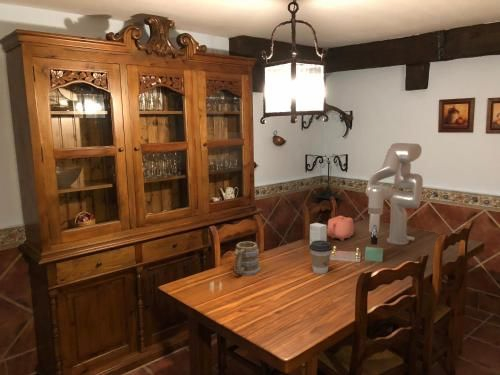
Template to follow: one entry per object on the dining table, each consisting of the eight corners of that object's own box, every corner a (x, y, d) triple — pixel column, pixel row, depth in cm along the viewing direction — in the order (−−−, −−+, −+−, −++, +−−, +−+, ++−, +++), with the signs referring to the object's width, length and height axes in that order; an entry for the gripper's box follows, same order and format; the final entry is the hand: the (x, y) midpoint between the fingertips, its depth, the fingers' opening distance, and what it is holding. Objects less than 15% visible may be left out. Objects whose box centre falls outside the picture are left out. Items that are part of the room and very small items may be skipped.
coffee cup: (323, 277, 205) (324, 248, 202) (304, 272, 212) (304, 243, 209) (336, 270, 213) (336, 242, 210) (317, 265, 220) (317, 238, 218)
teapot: (341, 231, 279) (342, 211, 276) (358, 235, 270) (359, 214, 267) (322, 239, 263) (322, 217, 261) (339, 243, 255) (340, 221, 252)
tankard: (241, 264, 224) (241, 237, 221) (263, 268, 218) (263, 240, 216) (223, 278, 206) (222, 249, 203) (246, 282, 201) (245, 252, 198)
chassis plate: (360, 254, 236) (360, 247, 235) (360, 262, 224) (360, 254, 224) (331, 252, 240) (331, 245, 239) (329, 259, 229) (329, 252, 228)
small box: (326, 246, 251) (327, 225, 248) (319, 248, 247) (319, 227, 244) (316, 242, 257) (316, 222, 255) (309, 245, 253) (309, 224, 251)
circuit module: (382, 258, 229) (382, 248, 228) (382, 261, 224) (382, 251, 223) (365, 257, 232) (365, 246, 231) (364, 260, 227) (365, 249, 226)
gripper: (368, 206, 232) (366, 236, 235) (368, 213, 216) (366, 245, 218) (382, 207, 230) (380, 237, 233) (383, 214, 214) (381, 247, 216)
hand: (373, 241), depth 226 cm, fingers open, 9 cm apart
